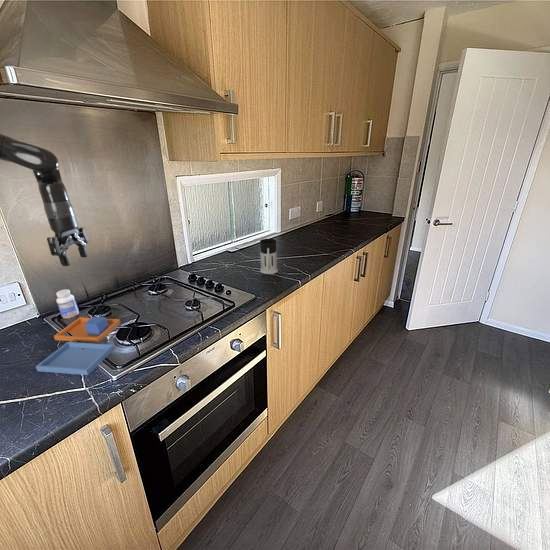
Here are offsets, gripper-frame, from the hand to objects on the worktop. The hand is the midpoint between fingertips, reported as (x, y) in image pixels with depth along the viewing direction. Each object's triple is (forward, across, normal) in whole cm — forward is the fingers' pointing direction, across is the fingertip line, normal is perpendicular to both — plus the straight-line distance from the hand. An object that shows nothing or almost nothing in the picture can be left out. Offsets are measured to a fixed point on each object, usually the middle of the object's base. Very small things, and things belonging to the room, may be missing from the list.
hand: (75, 261), depth 102 cm
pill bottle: (+20, +3, -6) cm, 21 cm away
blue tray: (+20, +27, +16) cm, 37 cm away
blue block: (+20, +13, +13) cm, 27 cm away
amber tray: (+20, +13, +9) cm, 26 cm away
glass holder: (+20, -40, +62) cm, 77 cm away
